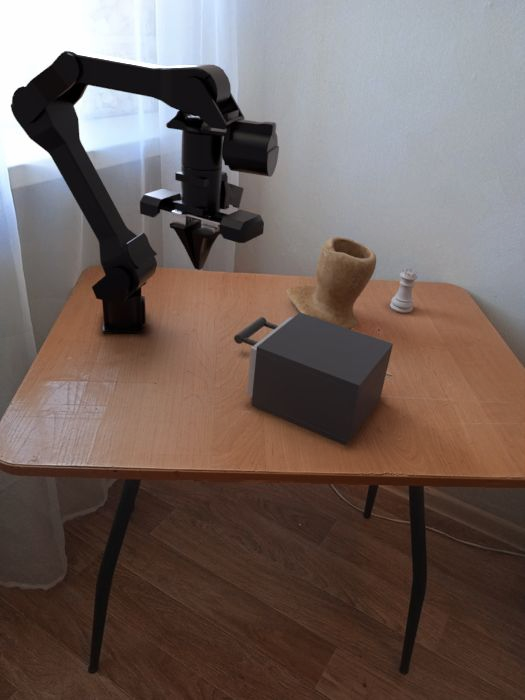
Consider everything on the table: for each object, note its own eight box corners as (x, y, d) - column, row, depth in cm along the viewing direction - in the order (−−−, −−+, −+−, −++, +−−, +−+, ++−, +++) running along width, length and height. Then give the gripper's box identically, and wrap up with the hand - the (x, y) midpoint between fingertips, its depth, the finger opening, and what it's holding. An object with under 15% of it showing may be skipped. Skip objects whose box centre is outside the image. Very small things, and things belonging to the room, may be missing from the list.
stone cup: (374, 334, 100) (391, 256, 93) (312, 339, 97) (325, 258, 89) (339, 297, 113) (352, 224, 105) (284, 300, 109) (293, 226, 101)
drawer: (222, 384, 82) (225, 338, 77) (262, 351, 90) (266, 308, 86) (333, 431, 75) (342, 382, 70) (364, 390, 83) (374, 345, 79)
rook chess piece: (415, 308, 111) (424, 271, 107) (407, 316, 108) (417, 278, 104) (394, 301, 113) (402, 264, 109) (386, 309, 110) (394, 271, 106)
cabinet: (251, 405, 79) (256, 346, 74) (292, 366, 89) (299, 312, 84) (346, 446, 74) (359, 385, 69) (379, 399, 83) (393, 343, 78)
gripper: (287, 169, 81) (276, 269, 89) (183, 145, 88) (182, 240, 96) (246, 183, 72) (239, 292, 80) (135, 156, 80) (138, 258, 88)
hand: (198, 268), depth 86 cm, fingers closed
